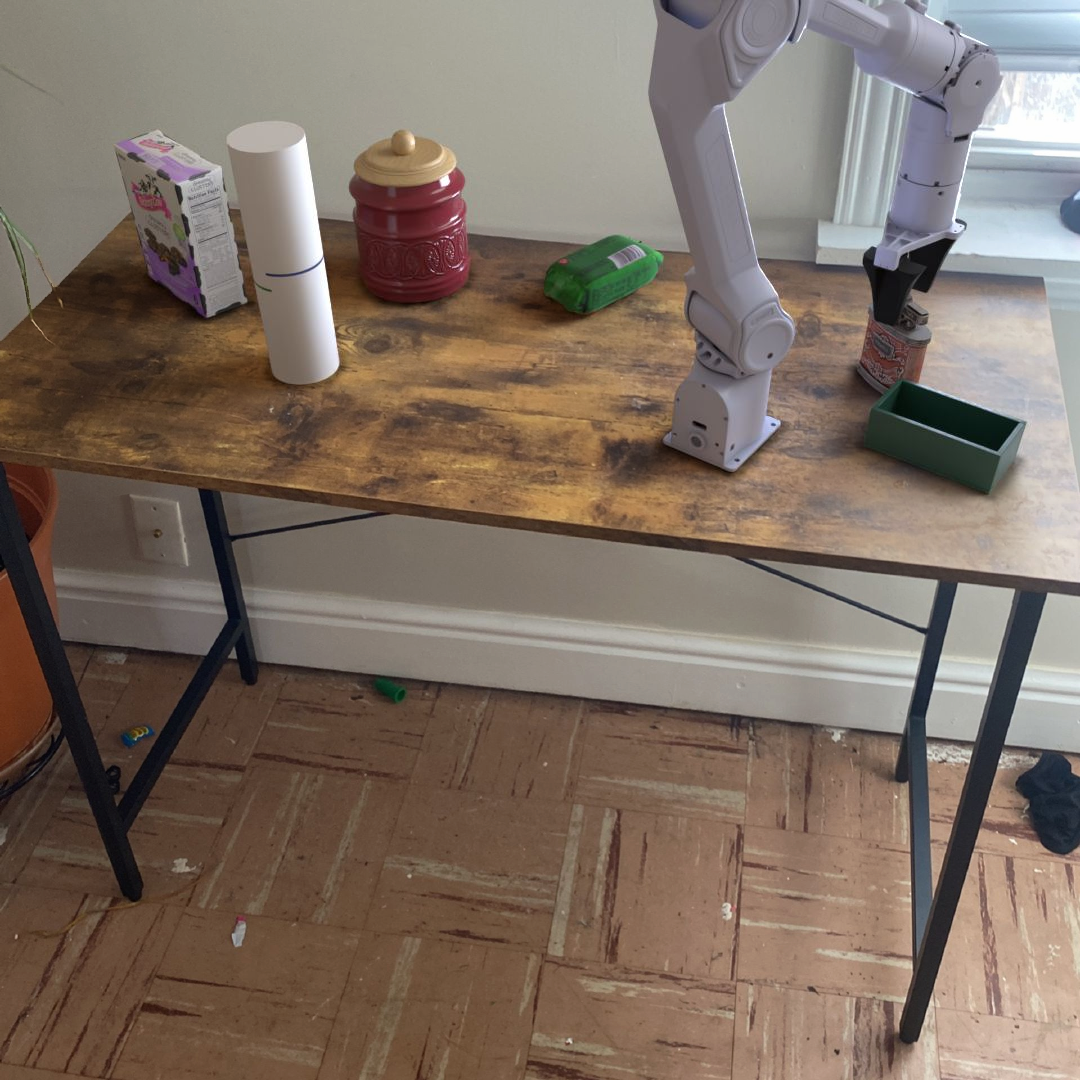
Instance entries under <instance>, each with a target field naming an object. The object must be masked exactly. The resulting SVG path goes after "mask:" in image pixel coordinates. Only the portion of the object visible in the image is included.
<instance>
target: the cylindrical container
mask: <svg viewBox="0 0 1080 1080" xmlns="http://www.w3.org/2000/svg"><path fill="white" fill-rule="evenodd" d="M226 146H227V150H228V155H229V160H230V165H231V171H232V176H233V181H234V186H235V192H236V197H237V202H238V206H239V211H240V217H241V222H242V227H243V232H244V238H245V243H246V247H247V248H246V249H247V253H248V258H249V262H250V267H251V273H252V278H253V283H254V287H255V293H256V298H257V303H258V308H259V313H260V318H261V319H260V320H261V323H262V328H263V332H264V333H263V334H264V338H265V343H266V347H267V348H266V349H267V354H268V359H269V363H270V369H271V372H272V375H273V376H274V377H275V379H277V380H278V381H280V382H282V383H285V384H289V385H298V386H299V385H311V384H316V383H318V382H322V381H324V380H326V379H328V378H330V377H331V376H333V375H334V374H335V373H336V372H337V371H338V369H339V367H340V357H339V350H338V345H337V344H338V343H337V337H336V331H335V325H334V324H335V323H334V317H333V312H332V311H333V310H332V304H331V298H330V289H329V284H328V277H327V270H326V264H325V258H324V251H323V244H322V238H321V231H320V230H321V229H320V223H319V217H318V211H317V204H316V198H315V191H314V185H313V178H312V172H311V171H312V170H311V164H310V158H309V151H308V144H307V138H306V131H305V130H304V128H303V127H301V126H300V125H298V124H296V123H294V122H289V121H282V120H264V121H256V122H252V123H247V124H244V125H241V126H240V127H237V128H235V129H234V130H232V131H231V132H229V134H228V135H227V136H226Z"/></svg>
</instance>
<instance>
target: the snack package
mask: <svg viewBox="0 0 1080 1080" xmlns="http://www.w3.org/2000/svg"><path fill="white" fill-rule="evenodd" d="M664 258H665V257H664V255H663V254H662V253H661V252H659V251H657V250H655V249H653V248H652V247H650V246H648V245H645V244H643V243H642V240H639V241H637V240H636V239H633V238H631V237H628V236H625V235H622V234H613V235H609V236H606V237H604V238H602V239H599V240H597V241H595V242H593V243H590V244H588V245H586V246H584V247H581V248H578V249H577V250H575V251H573V252H571V253H568V254H567V255H564V256H563V257H560V258H559V259H557V260H556V261H554V262H552V263H551V265H550V266H549V267H548V269H547V270H546V273H545V276H544V277H545V278H544V280H543V289H542V290H543V293H544V295H545V296H546V297H548V298H549V299H550V298H551V299H553V300H555V302H558V303H559V304H561V305H563V306H564V307H565V310H566V311H568V312H571V313H572V312H574V313H576V314H578V315H583V316H585V315H586V316H587V315H591V314H594V313H596V312H598V311H600V310H601V309H603V308H605V307H607V306H608V305H610V304H613V303H614V302H616V301H618V300H620V299H623V298H625V297H626V296H629V295H631V294H632V293H634V292H636V291H638V290H640V289H642V288H643V287H645V286H646V285H648V284H649V283H650V282H652V281H653V279H655V277H656V276H657V273H658V272H659V269H660V268H661V266H662V264H663V262H664Z"/></svg>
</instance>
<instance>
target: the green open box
mask: <svg viewBox="0 0 1080 1080" xmlns="http://www.w3.org/2000/svg"><path fill="white" fill-rule="evenodd" d="M1027 423H1028V421H1026V420H1023V419H1022V418H1021V419H1020V418H1018V417H1015V416H1012V415H1009V414H1006V413H1004V412H1000V411H998V410H995V409H992V408H989V407H986V406H983V405H982V404H981V405H980V404H978V403H975V402H972V401H969V400H966V399H964V398H961V397H958V396H955V395H952V394H950V393H946V392H943V391H941V390H938V389H935V388H934V387H933V388H932V387H929V386H927V385H923V384H921V383H916V382H913V381H910V380H907V379H904V378H901V377H900V378H899V379H898V380H897V381H896V382H895V383H894V384H893V385H892V386H891V387H890V388H889V389H888V390H887V391H886V393H885V394H884V395H883V394H882V395H881V396H880V398H879V399H878V400H877V401H876V402H875V403H874V404H873V405H872V406H871V407H870V409H869V415H868V418H867V425H866V429H865V434H864V438H863V444H862V446H863V447H865V448H867V449H870V450H873V451H876V452H878V453H881V454H883V455H885V456H889V457H890V458H893V459H896V460H898V461H900V462H901V461H902V462H903V463H907V464H909V465H912V466H914V467H917V468H919V469H922V470H925V471H927V472H930V473H932V474H935V475H938V476H940V477H943V478H945V479H948V480H950V481H953V482H955V483H958V484H960V485H963V486H966V487H969V488H971V489H974V490H976V491H979V492H982V493H984V494H986V495H990V494H991V492H992V491H993V489H994V488H995V487H996V486H997V484H998V483H999V482H1000V480H1001V479H1002V477H1003V476H1004V475H1005V474H1006V472H1007V470H1009V468H1010V466H1011V465H1013V463H1014V461H1015V460H1016V457H1017V454H1018V450H1019V448H1020V445H1021V441H1022V438H1023V436H1024V432H1025V429H1026V426H1027Z"/></svg>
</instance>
